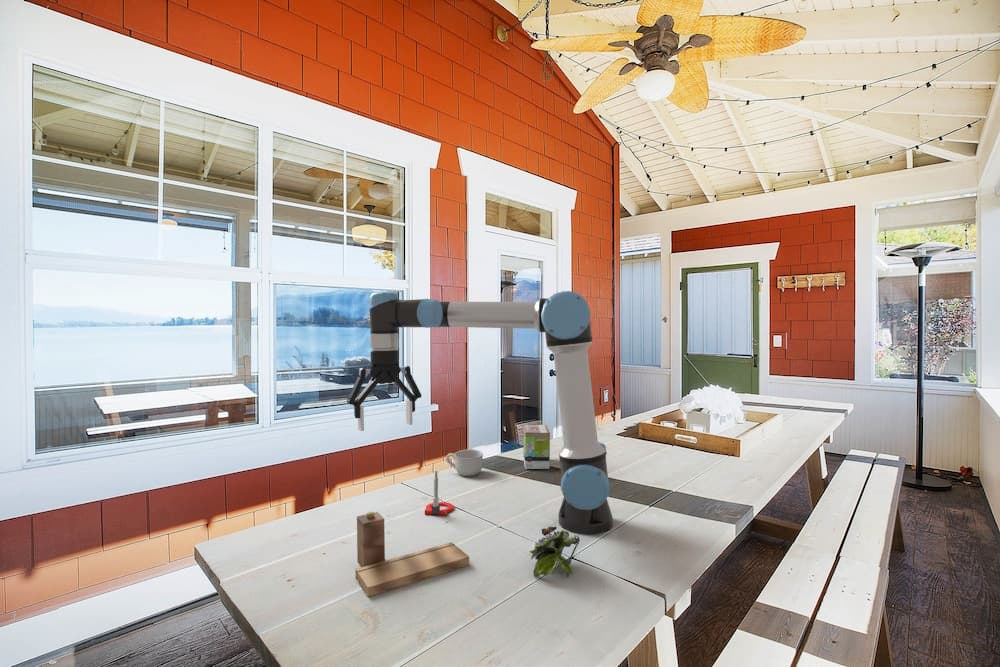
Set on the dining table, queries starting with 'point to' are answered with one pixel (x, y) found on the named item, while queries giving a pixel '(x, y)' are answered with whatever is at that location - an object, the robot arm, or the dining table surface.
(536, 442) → the tea box
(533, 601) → the dining table surface
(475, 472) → the teacup
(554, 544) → the passion flower
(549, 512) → the dining table surface
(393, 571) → the board
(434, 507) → the tow hook
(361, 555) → the block
